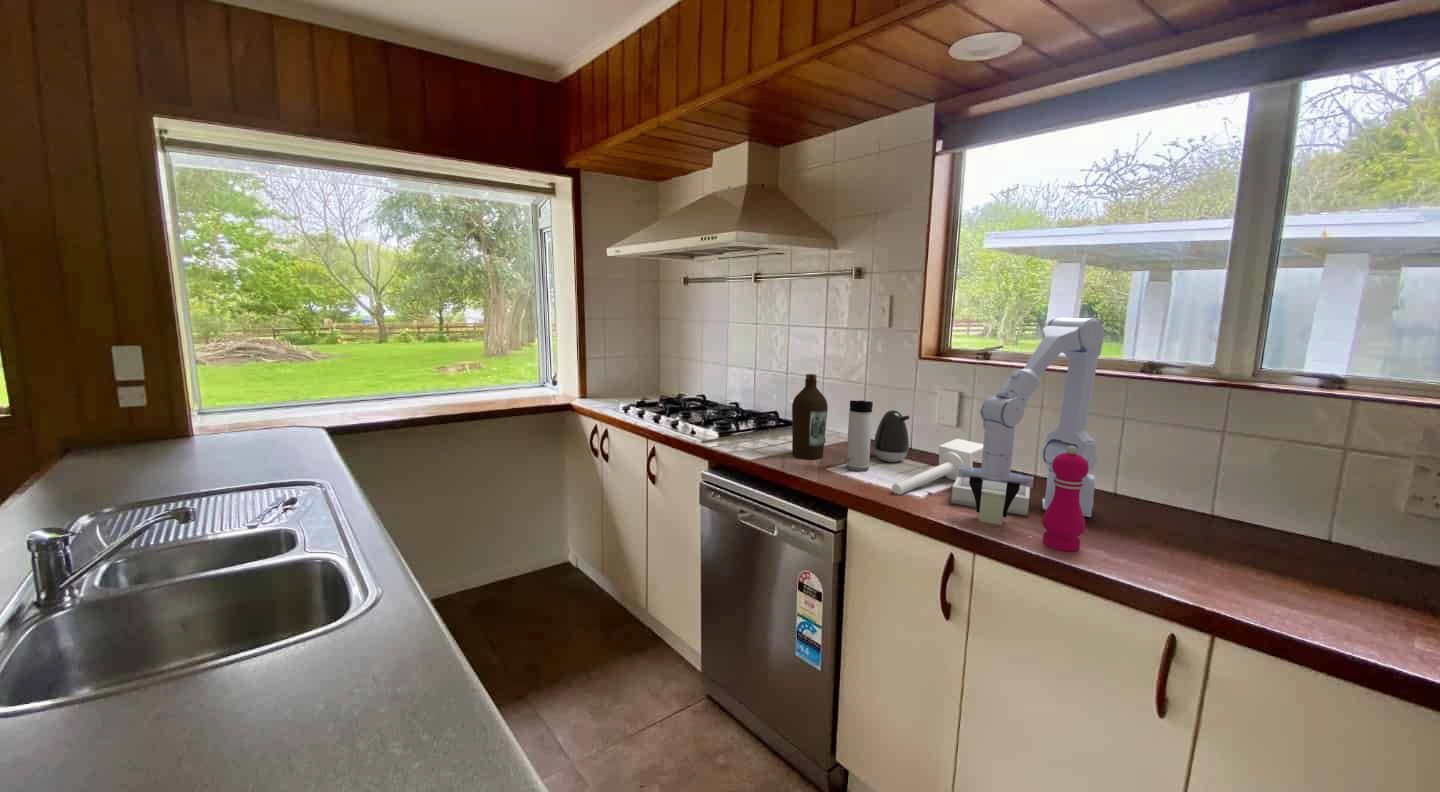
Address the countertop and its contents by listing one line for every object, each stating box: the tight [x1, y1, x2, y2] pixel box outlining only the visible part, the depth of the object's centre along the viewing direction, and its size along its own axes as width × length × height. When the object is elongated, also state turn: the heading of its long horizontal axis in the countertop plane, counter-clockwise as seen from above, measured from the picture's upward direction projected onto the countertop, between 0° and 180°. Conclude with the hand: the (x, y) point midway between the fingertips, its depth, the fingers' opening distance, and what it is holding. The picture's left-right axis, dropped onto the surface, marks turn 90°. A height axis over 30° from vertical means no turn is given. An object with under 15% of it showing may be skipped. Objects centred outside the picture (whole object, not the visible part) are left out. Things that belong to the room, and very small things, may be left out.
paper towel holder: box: [891, 438, 984, 496], centre depth 152 cm, size 9×9×32 cm
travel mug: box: [845, 399, 873, 473], centre depth 163 cm, size 6×7×20 cm
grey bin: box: [950, 476, 1031, 517], centre depth 139 cm, size 16×14×4 cm
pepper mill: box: [1041, 446, 1089, 553], centre depth 112 cm, size 7×7×20 cm
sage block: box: [978, 489, 1005, 526], centre depth 126 cm, size 4×4×6 cm
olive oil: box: [791, 373, 829, 460], centre depth 176 cm, size 11×11×25 cm
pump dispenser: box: [873, 409, 910, 463], centre depth 173 cm, size 10×10×15 cm
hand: (991, 513), depth 126 cm, fingers closed on sage block, 4 cm apart
